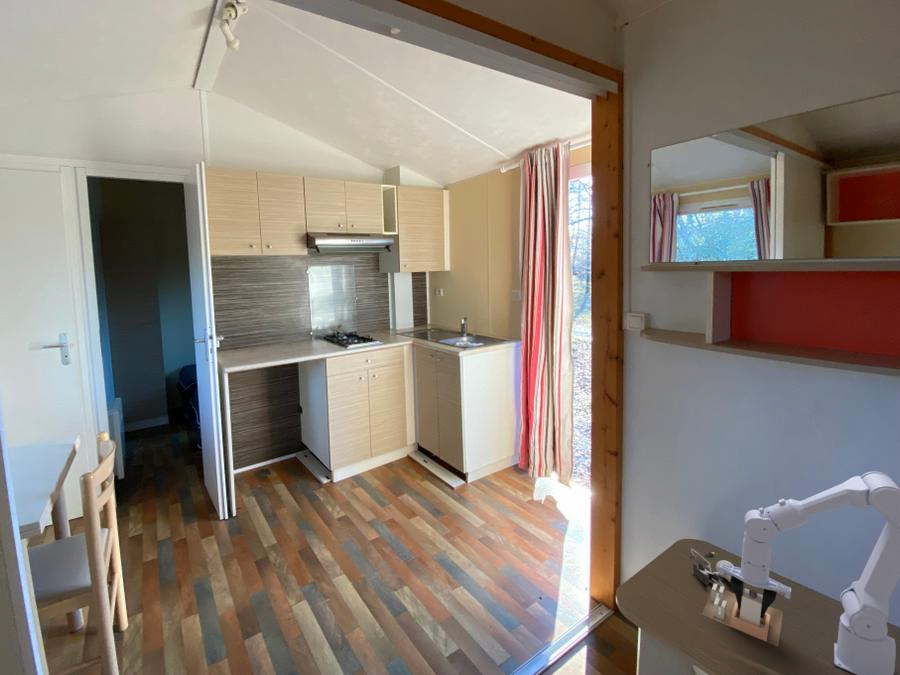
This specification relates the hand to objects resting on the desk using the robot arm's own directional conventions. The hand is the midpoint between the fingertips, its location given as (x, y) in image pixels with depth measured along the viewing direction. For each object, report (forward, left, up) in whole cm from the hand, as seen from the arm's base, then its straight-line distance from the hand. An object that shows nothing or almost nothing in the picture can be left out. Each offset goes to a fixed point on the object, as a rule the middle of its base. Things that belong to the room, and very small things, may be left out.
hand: (751, 611), depth 111 cm
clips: (+7, -2, -4) cm, 8 cm away
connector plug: (0, 0, -3) cm, 3 cm away
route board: (+2, -4, -5) cm, 6 cm away
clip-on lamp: (+12, -18, -5) cm, 22 cm away
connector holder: (0, 0, -5) cm, 5 cm away
